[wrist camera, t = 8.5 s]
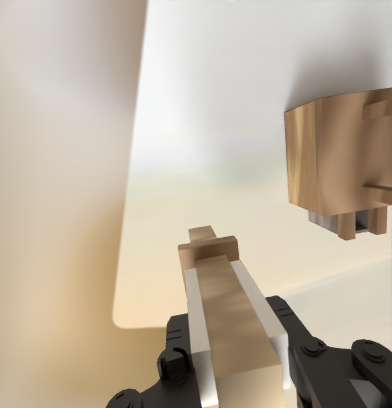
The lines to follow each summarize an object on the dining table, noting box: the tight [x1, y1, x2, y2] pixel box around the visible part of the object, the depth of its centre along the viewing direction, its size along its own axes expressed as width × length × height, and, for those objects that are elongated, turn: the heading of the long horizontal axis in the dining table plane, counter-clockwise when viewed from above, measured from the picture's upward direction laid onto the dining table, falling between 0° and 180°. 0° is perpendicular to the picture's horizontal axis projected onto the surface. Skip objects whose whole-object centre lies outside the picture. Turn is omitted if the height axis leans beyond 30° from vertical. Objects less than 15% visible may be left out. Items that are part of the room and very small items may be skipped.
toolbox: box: [284, 101, 368, 234], centre depth 34 cm, size 12×19×8 cm, turn 8°
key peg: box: [178, 226, 285, 408], centre depth 16 cm, size 4×4×16 cm
